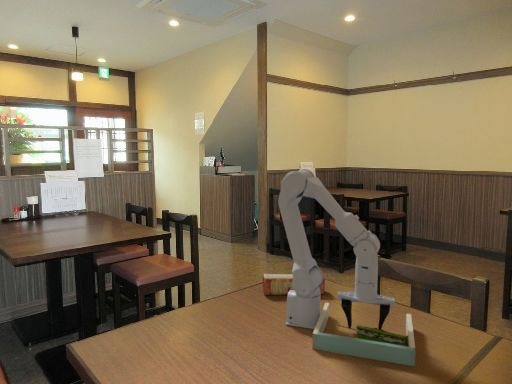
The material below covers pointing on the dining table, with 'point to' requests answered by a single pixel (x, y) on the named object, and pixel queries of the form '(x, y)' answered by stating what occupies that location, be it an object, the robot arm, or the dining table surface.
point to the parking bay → (364, 344)
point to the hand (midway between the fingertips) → (364, 328)
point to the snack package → (281, 284)
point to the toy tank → (380, 335)
